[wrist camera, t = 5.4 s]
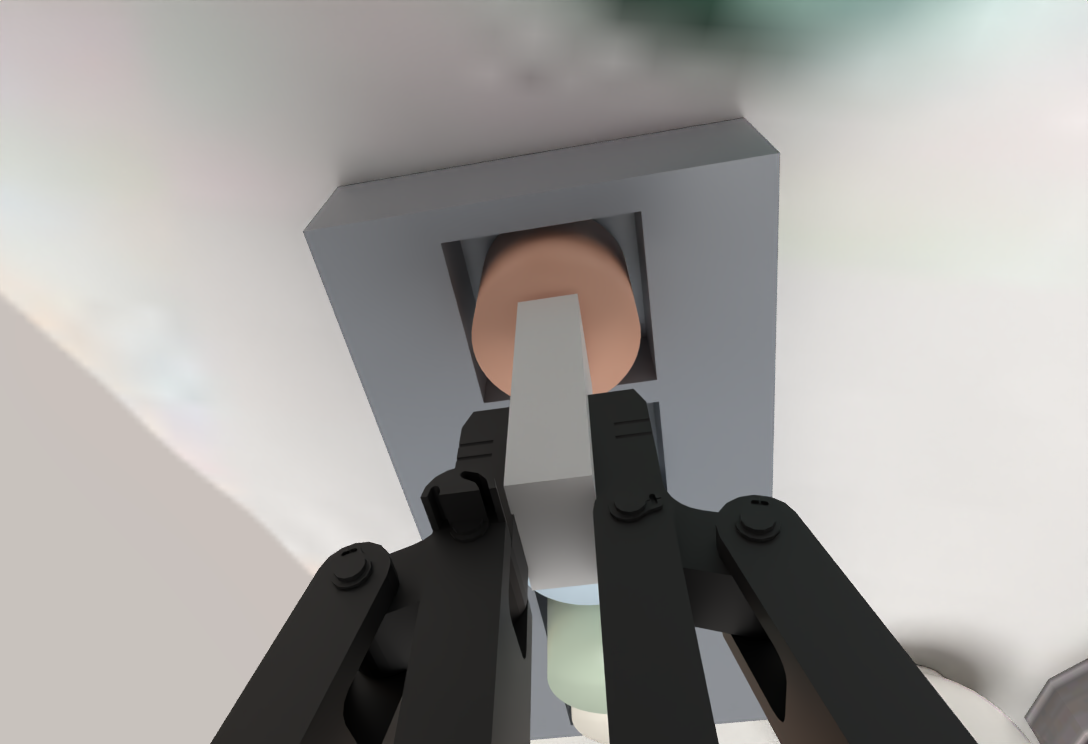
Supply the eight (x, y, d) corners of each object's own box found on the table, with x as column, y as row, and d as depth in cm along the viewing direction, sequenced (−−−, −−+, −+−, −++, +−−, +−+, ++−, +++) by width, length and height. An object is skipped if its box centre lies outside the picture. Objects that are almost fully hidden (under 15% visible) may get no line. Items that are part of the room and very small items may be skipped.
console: (338, 186, 20) (303, 231, 17) (744, 117, 19) (779, 152, 16) (504, 671, 34) (500, 742, 31) (747, 648, 33) (767, 719, 30)
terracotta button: (467, 223, 20) (453, 276, 17) (619, 199, 19) (632, 248, 16) (498, 351, 22) (491, 416, 19) (633, 332, 22) (647, 395, 19)
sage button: (538, 557, 24) (537, 644, 22) (660, 543, 24) (676, 630, 21) (557, 632, 27) (558, 718, 24) (669, 621, 26) (683, 707, 24)
